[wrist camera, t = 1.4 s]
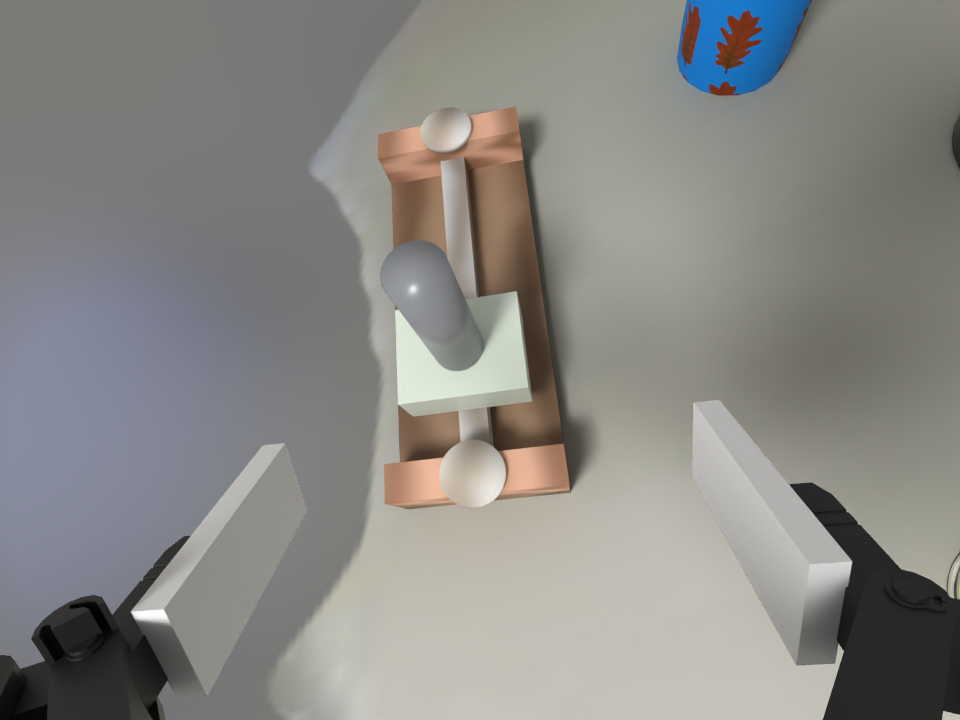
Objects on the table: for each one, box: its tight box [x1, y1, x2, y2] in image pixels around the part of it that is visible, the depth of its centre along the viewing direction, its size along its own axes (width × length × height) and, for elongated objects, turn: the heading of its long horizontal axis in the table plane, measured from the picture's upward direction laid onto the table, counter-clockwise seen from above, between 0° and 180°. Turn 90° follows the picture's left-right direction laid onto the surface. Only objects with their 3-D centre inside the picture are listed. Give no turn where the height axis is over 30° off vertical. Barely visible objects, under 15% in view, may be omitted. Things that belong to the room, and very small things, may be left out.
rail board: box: [378, 107, 570, 509], centre depth 48 cm, size 14×38×7 cm, turn 5°
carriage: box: [380, 240, 532, 417], centre depth 37 cm, size 10×8×16 cm
